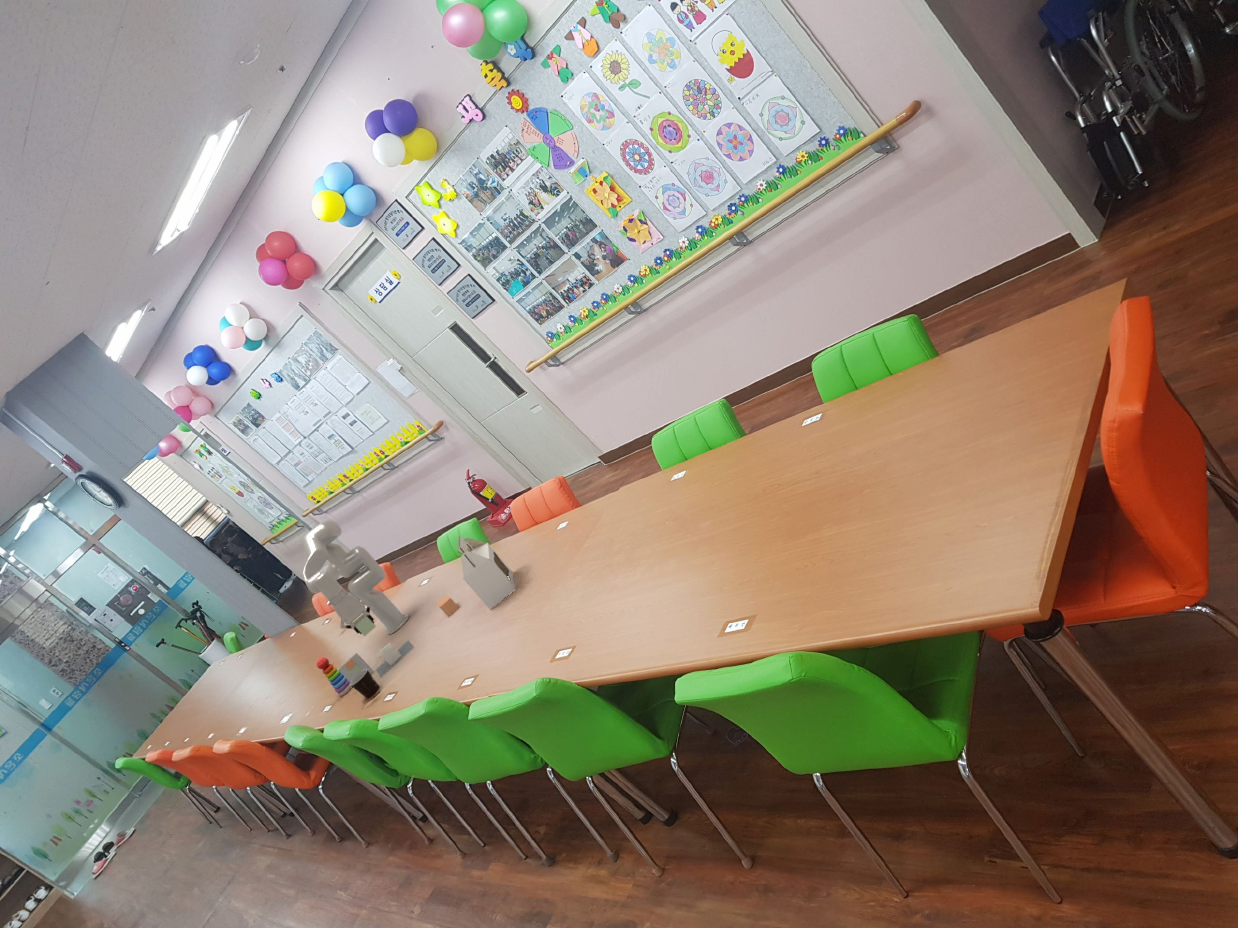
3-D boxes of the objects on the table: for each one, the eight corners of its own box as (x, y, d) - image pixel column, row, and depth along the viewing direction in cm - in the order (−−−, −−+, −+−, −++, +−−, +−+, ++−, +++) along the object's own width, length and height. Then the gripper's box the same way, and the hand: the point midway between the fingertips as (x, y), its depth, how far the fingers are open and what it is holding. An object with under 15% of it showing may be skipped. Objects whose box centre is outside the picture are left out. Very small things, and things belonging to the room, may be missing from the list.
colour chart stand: (356, 688, 355) (337, 668, 352) (374, 671, 358) (355, 651, 355) (357, 690, 351) (338, 670, 348) (376, 673, 355) (357, 653, 351)
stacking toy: (349, 692, 356) (319, 662, 351) (336, 699, 359) (307, 669, 354) (357, 680, 363) (328, 650, 358) (345, 687, 366) (316, 657, 361)
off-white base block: (387, 661, 355) (378, 651, 353) (398, 651, 356) (389, 641, 355) (390, 665, 347) (381, 655, 346) (401, 655, 349) (392, 645, 347)
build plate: (377, 671, 356) (375, 669, 355) (410, 642, 361) (408, 640, 361) (382, 679, 343) (380, 677, 343) (416, 649, 349) (414, 647, 348)
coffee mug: (368, 693, 339) (352, 677, 336) (385, 682, 338) (369, 665, 335) (362, 710, 328) (345, 692, 325) (379, 698, 327) (362, 680, 324)
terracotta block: (445, 613, 365) (436, 603, 363) (455, 604, 366) (446, 594, 365) (448, 617, 357) (439, 607, 356) (459, 607, 359) (450, 597, 357)
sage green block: (362, 632, 350) (352, 622, 348) (373, 622, 352) (364, 612, 350) (364, 636, 343) (355, 626, 341) (376, 626, 344) (366, 616, 343)
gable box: (488, 591, 353) (447, 542, 345) (513, 572, 353) (472, 523, 345) (490, 610, 331) (446, 559, 324) (516, 590, 332) (472, 539, 324)
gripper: (322, 613, 336) (352, 644, 341) (356, 584, 341) (384, 615, 346) (321, 609, 343) (350, 640, 348) (354, 581, 348) (382, 612, 353)
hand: (367, 627), depth 347 cm, fingers closed on sage green block, 5 cm apart
